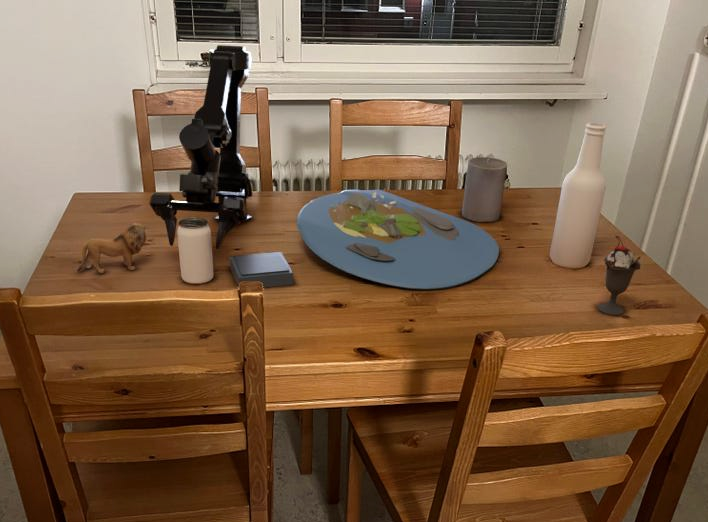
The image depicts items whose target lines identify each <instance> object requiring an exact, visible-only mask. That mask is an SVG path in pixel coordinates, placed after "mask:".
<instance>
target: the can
mask: <svg viewBox="0 0 708 522" xmlns="http://www.w3.org/2000/svg"><path fill="white" fill-rule="evenodd" d="M208 223H209V222H208V220H207V219H205V218H202V217H196V216H195V217H187V218H183V219H181V220H179V221H178V227H177V229H176V235H177V245H178V246H177V247H178V256H179V257H178V258H179V266H180V276H181V279H182V281H184V282H185V283H186V284H190V285H204V284H206V283H209V282H211V281H212V279H214V263H213V261H214V260H213V259H214V258H213V248H212V247H213V246H212V232H211V227H210V226H209V224H208Z"/></svg>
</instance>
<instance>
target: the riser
mask: <svg viewBox="0 0 708 522" xmlns="http://www.w3.org/2000/svg"><path fill="white" fill-rule="evenodd" d="M229 269H230V271H231V273H232V276H233V278H234V280H235V283H236V285H237V287H238V286H239V283H240V282H242V281H260V282H262V283H263V286H264V288H263V289H266V288H275V287H284V286H285V287H287V286H293V285H294V271H293V270H292V268H291V267H290V264H289V263H288V261H287V259H286V258H285V256H284V255H283V252H282V251H274V252H273V251H272V252H263V253H261V252H260V253H250V254H239V255H230V256H229Z"/></svg>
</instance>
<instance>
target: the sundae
mask: <svg viewBox="0 0 708 522" xmlns="http://www.w3.org/2000/svg"><path fill="white" fill-rule="evenodd" d="M614 237H615V238H616V240H618V244H617V245H615V246H614V247H613V251H611V252H609V254H608V256H606V257H605V258H603V261H604V263H605V265H606V271H605V288H606V289H607V291H608V292H609V293H610V298H609V300H608V302H603V303H599V304H598V305H597V309H598V310H599V311H600V312H601V313H603V314H606V315H609V316H620V315H623V314H624V311H625V310H624V309H623V307H622V306H621V305H618V304H617V299H618V296H619V295H621V294H623V293H625V292H626V291H627V290H628V287H629V286H630V283H631V281H632V278H633V276H634V274H635V272H636V271H638V270H640V269H641V263H640V261H639V260H640V259H641V258H642V257H641V256H638V257H637V258H636V259H635V258H634V255H635V254H634V253H633V251H632V250H631V249H629V248H627V247H626V246H625V245H624V244H623V242H622V239H621V238H620V236H619V235H615V236H614ZM620 244H621V246H620Z"/></svg>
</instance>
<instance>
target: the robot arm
mask: <svg viewBox="0 0 708 522" xmlns="http://www.w3.org/2000/svg"><path fill="white" fill-rule="evenodd" d="M208 57H209V59H208V60H209V72H208V78H207V82H206V89H205V95H204V100H203V104H202V106H200V108H199V109H197V110H196V111H195V113H194V117H193V118H192V119H191V123H189V124H186V125H185V126H183V128H182V129H181V130H180V132H179V134H178V137H179V138H178V139H179V142H180V144H181V146H182V148H183V150H184V152H185V154H186V157H187V159H188V160H189V161H190V162H191V163H190V169H189V172H187V173H180V174H179V185H178V186H179V187H178V188H179V189H178V191H179V192H182V193H181V195H182V197H183V198H185V200H179V199H178V200H177V199H175V198H174V196H173V194H172V193H167V192H153V193H152V195H150V198H149V206H150V208H151V210H153V212H154V214H155V215H156V216H157V217H159V218H161V220H162V221H164V223H165V228H166V233H167V239H168V243H169V246H170V247H173V246H174V243H175V239H176V233H177V223H178V219H177V216H176V215H177V213H178V211H183V212H200V213H215V214H216V213H217V215H216V216H214V219H215V220H216V221H218V222H219V224H218V229H217V233H216V239H215V245H214V247H215V249H216V250H220V249H219V248H220V247H221V245H222V244H223V243H224V240H225V239H226V238H227V237H228V235H229V234H230V232H231V231H232V230H233V229H234V228H235V227H236V226H240V225H241V223H245V222H247V221H250V220H252V219H253V218H252V216H251V215H249V210H248V207H247V199H249V198H251V197H253V186H252V181H251V179H250V176H249V173H248V172H247V165H246V163H245V161H244V160H243V157H242V156H241V153H240V149H241V141H240V140H241V107H242V106H241V103H242V102H241V99H242V88H243V86H244V84H245V83H246V82H247V80H248V79H249V70H250V69H251V68H252V67H251V66H252V55H251V51H247V49H246V46H245V45H244V46H242V45H241V46H240V45H226V44H225V45H223V44H218V45H217V46H216V48H215V49H210V50H208ZM217 149H219V151H218V150H217ZM216 197H217V198H218V200H217V201H218V202H216Z"/></svg>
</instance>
